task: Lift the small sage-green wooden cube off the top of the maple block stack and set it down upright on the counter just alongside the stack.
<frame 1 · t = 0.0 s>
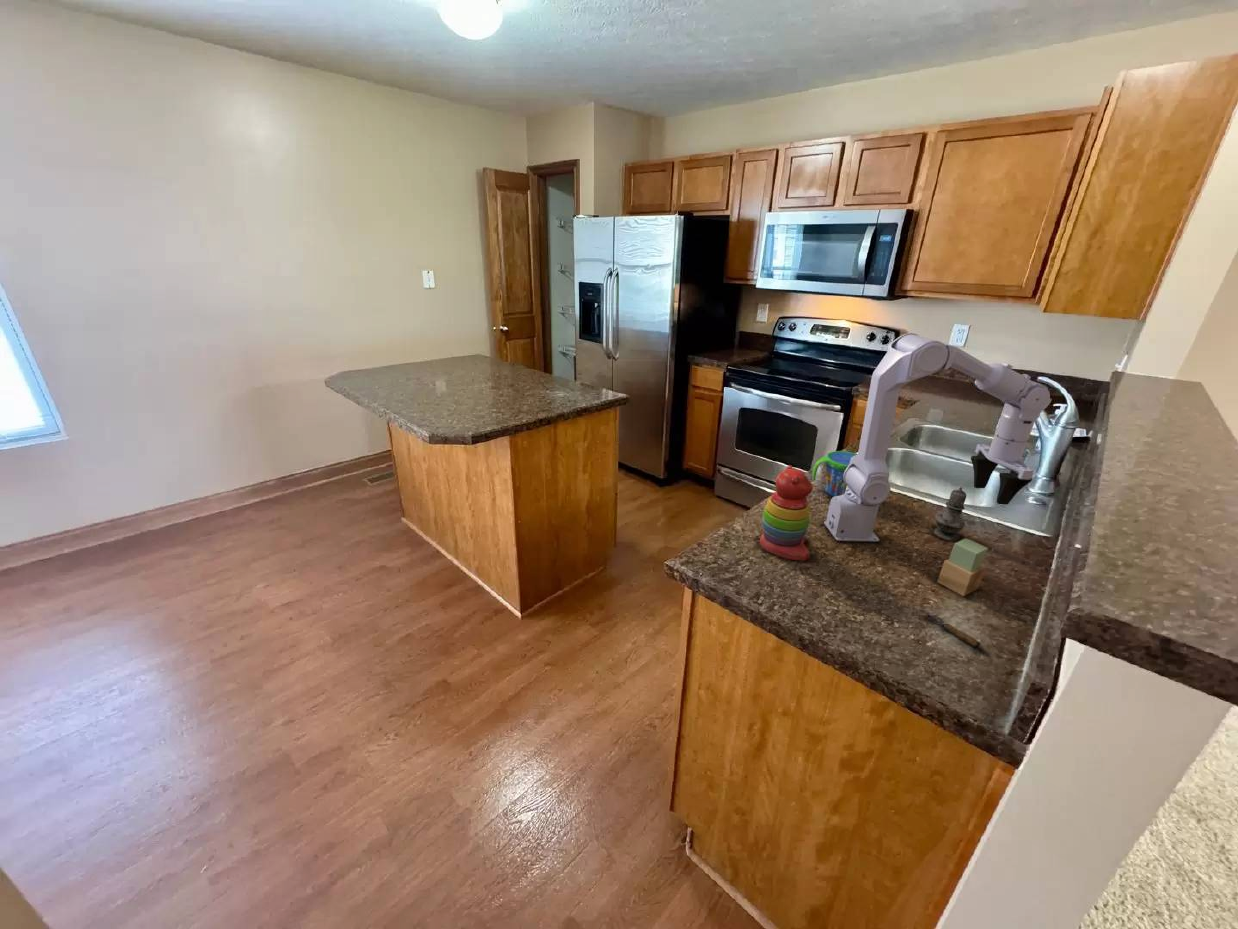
hand: (990, 495, 112), 10 cm above the counter, tool pointing down, fingers open, 7 cm apart
base block: (957, 585, 99), on the counter, touching top cube
top cube: (964, 563, 97), point 5 cm above the counter, touching base block
snack cup: (840, 494, 134), on the counter
stacking bear: (782, 546, 110), on the counter
grey fire hydrant: (945, 535, 116), on the counter
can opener: (951, 632, 87), on the counter
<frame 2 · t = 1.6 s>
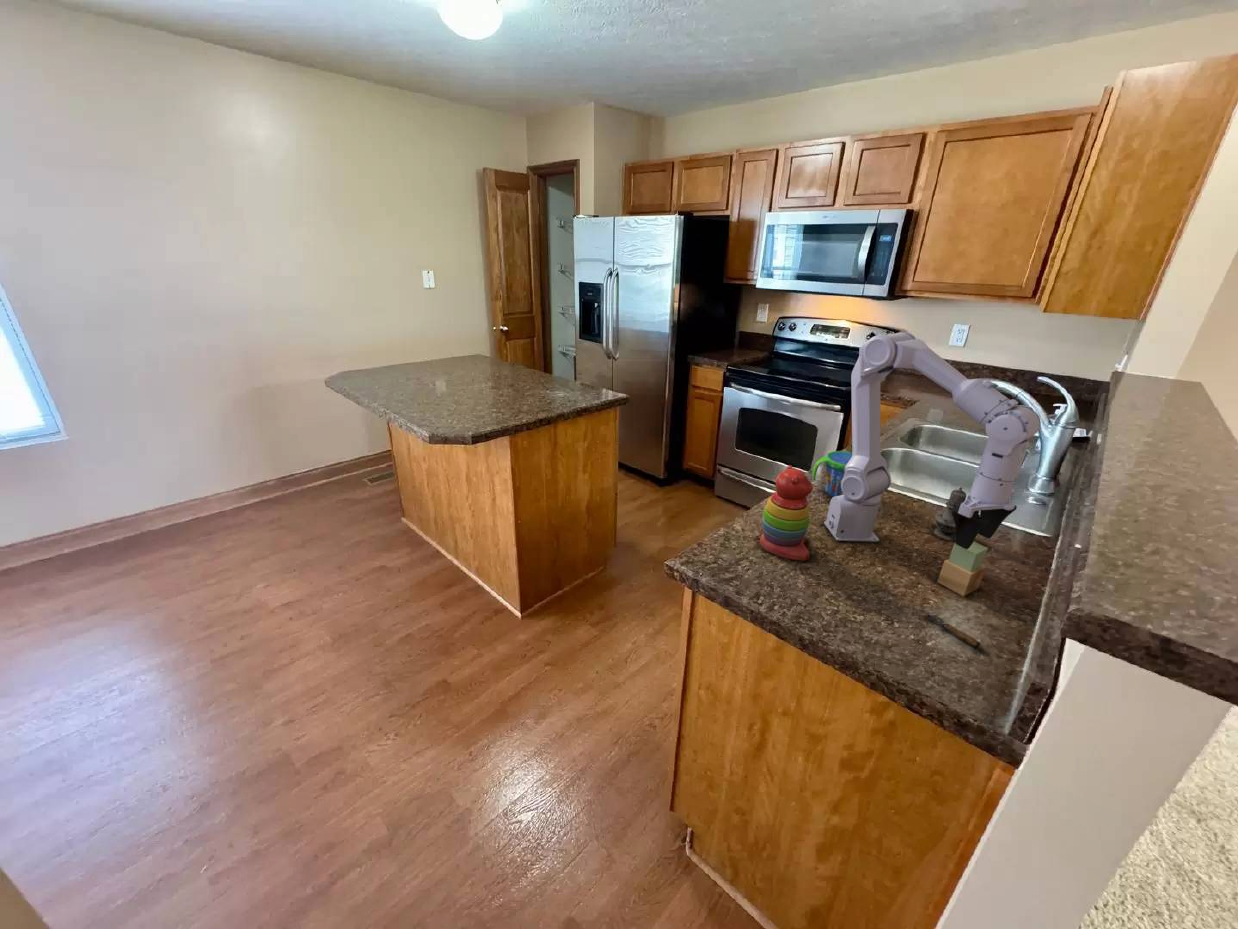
hand: (973, 540, 95), 10 cm above the counter, tool pointing down, fingers open, 7 cm apart
nothing on the counter moved.
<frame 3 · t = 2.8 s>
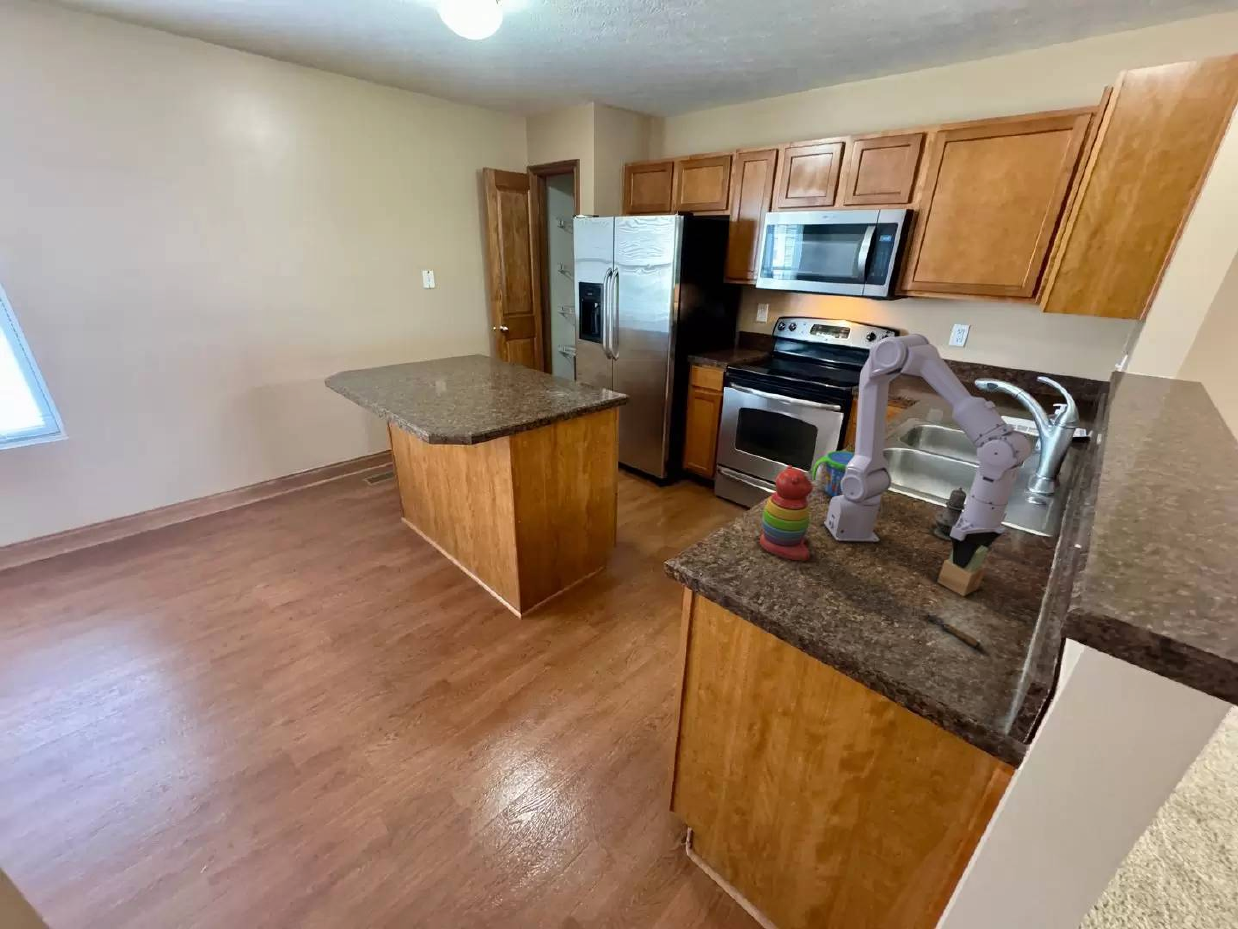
hand: (965, 561, 97), 5 cm above the counter, tool pointing down, fingers closed on top cube, 4 cm apart
top cube: (965, 563, 97), point 5 cm above the counter, touching base block, gripper
everything else where it was.
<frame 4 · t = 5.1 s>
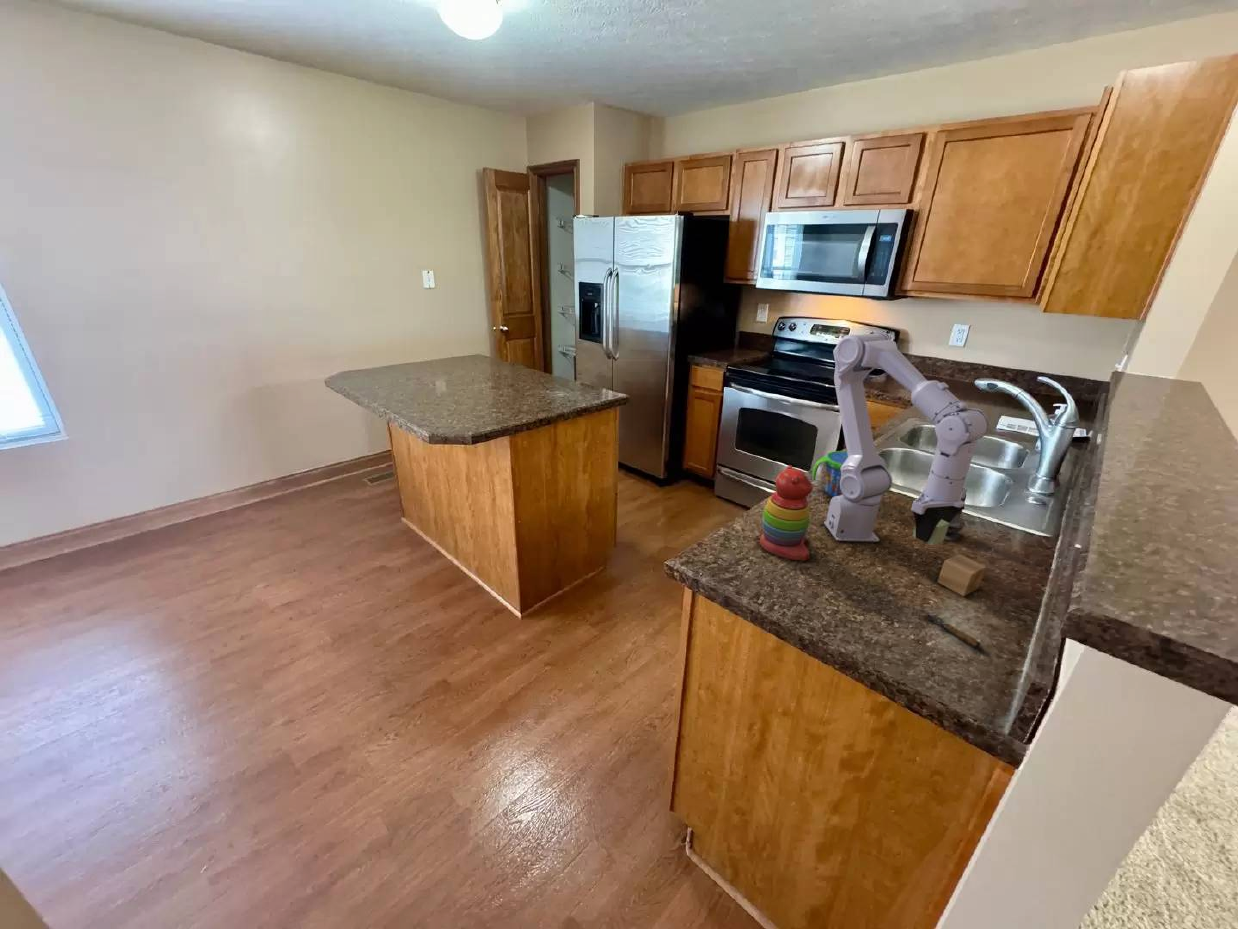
hand: (928, 536, 100), 8 cm above the counter, tool pointing down, fingers closed on top cube, 4 cm apart
base block: (957, 585, 99), on the counter
top cube: (927, 538, 100), point 7 cm above the counter, touching gripper
everything else where it was.
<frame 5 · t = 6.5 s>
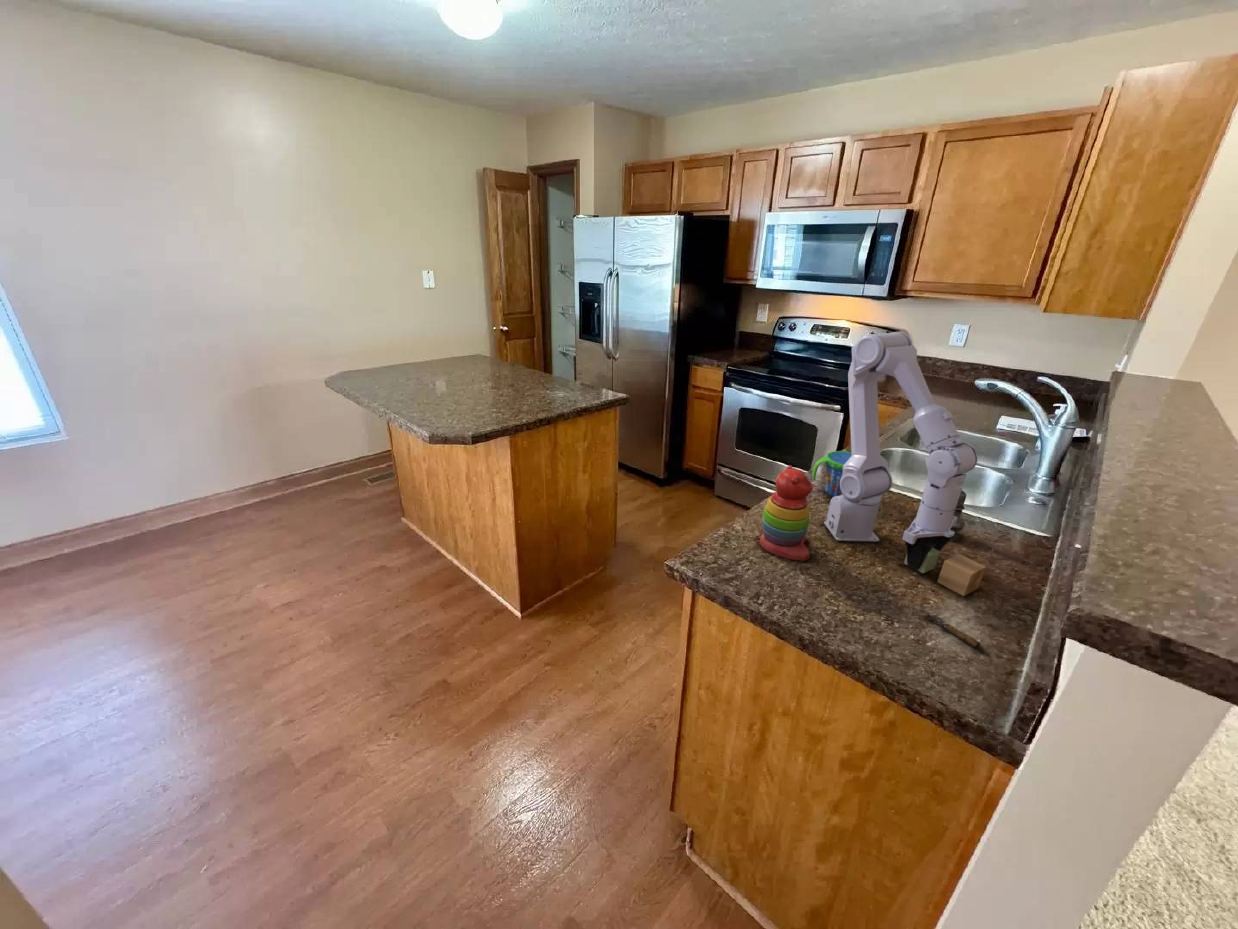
hand: (919, 564, 103), 1 cm above the counter, tool pointing down, fingers closed on top cube, 4 cm apart
top cube: (919, 565, 103), point 1 cm above the counter, touching gripper
everything else where it was.
when the fingers open (0 cm above the counter, at t = 7.2 s): top cube stays where it is, on the counter.
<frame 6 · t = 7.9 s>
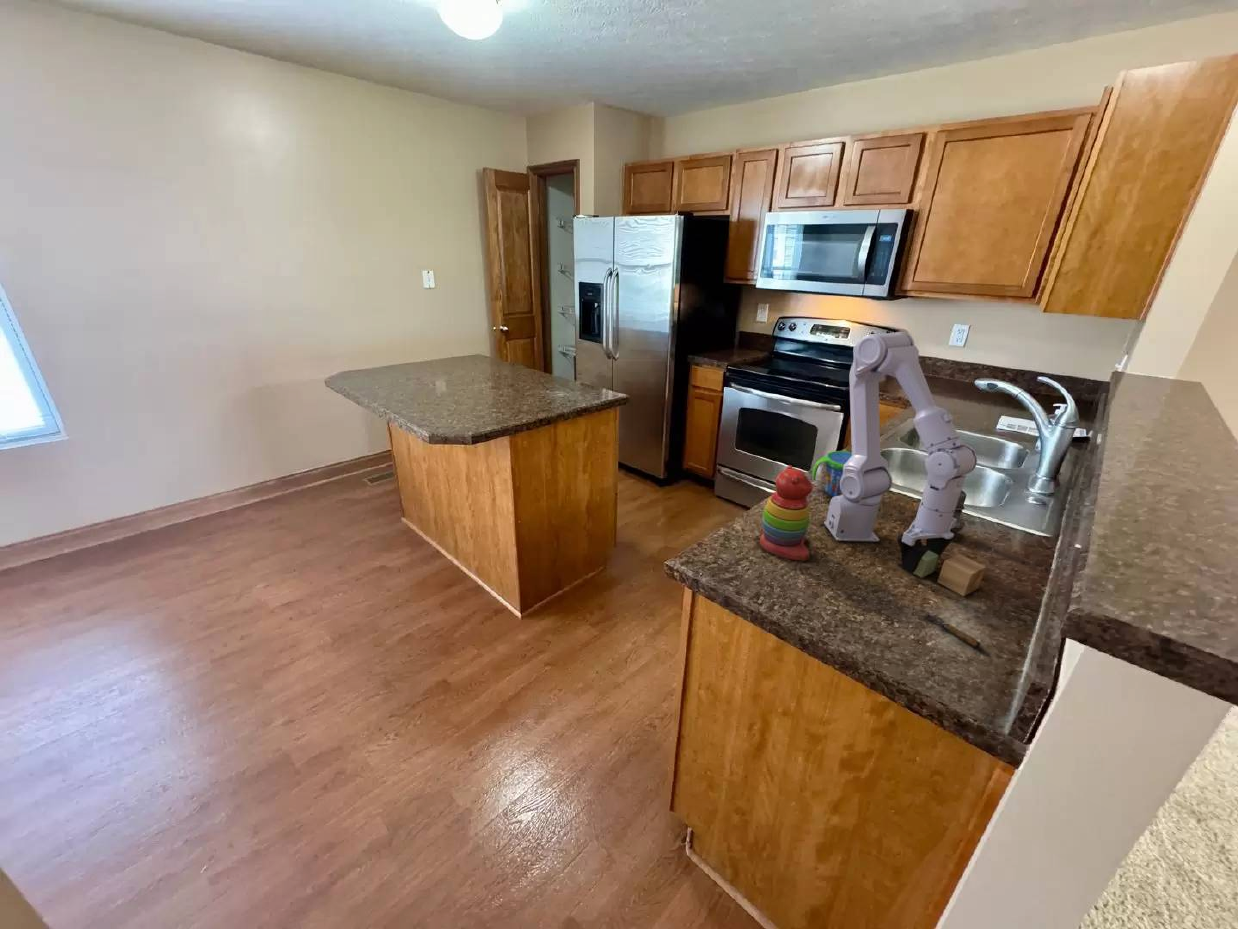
hand: (918, 565, 103), 1 cm above the counter, tool pointing down, fingers open, 7 cm apart
top cube: (918, 569, 103), on the counter
everything else where it was.
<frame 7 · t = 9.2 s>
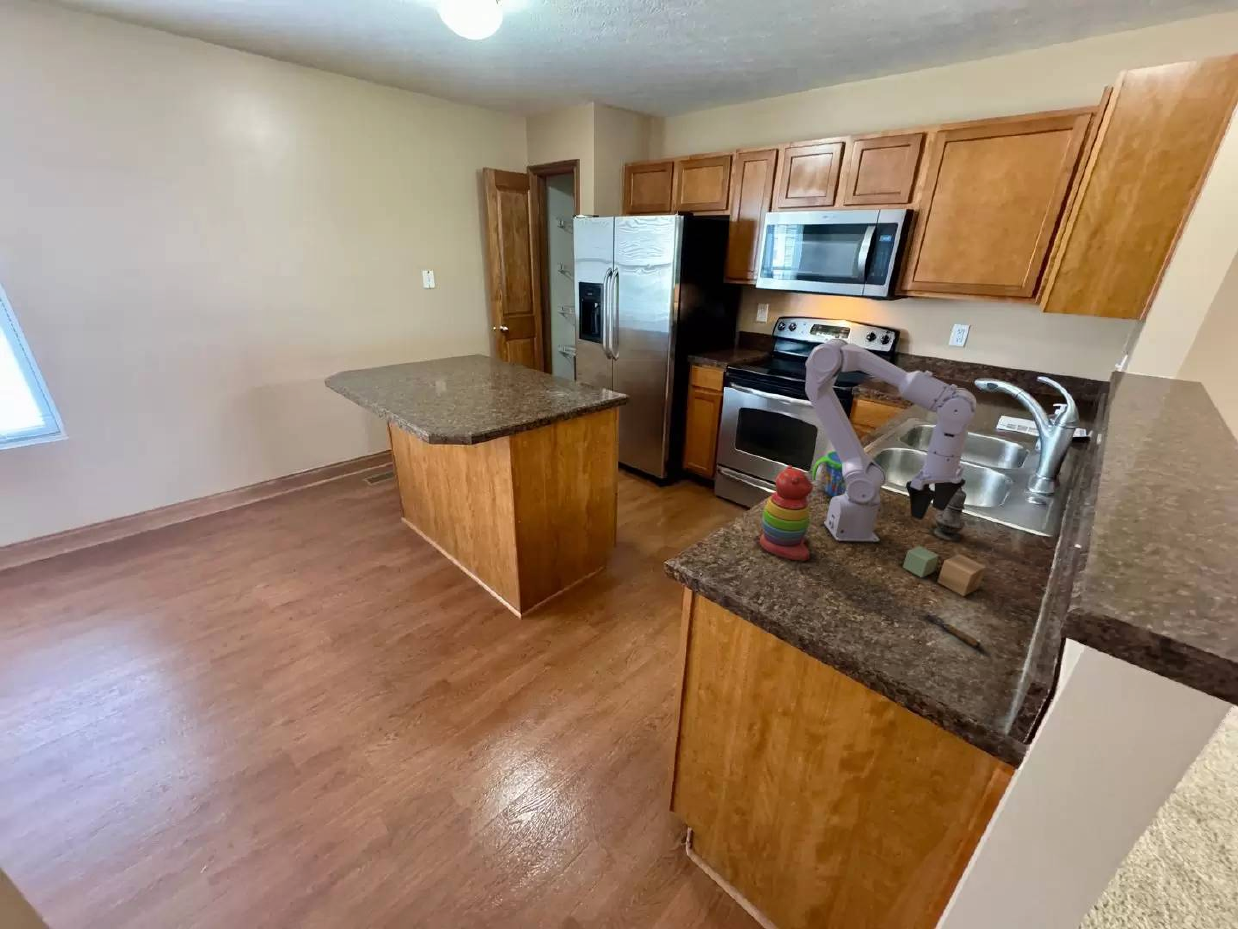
hand: (927, 512, 106), 9 cm above the counter, tool pointing down, fingers open, 7 cm apart
nothing on the counter moved.
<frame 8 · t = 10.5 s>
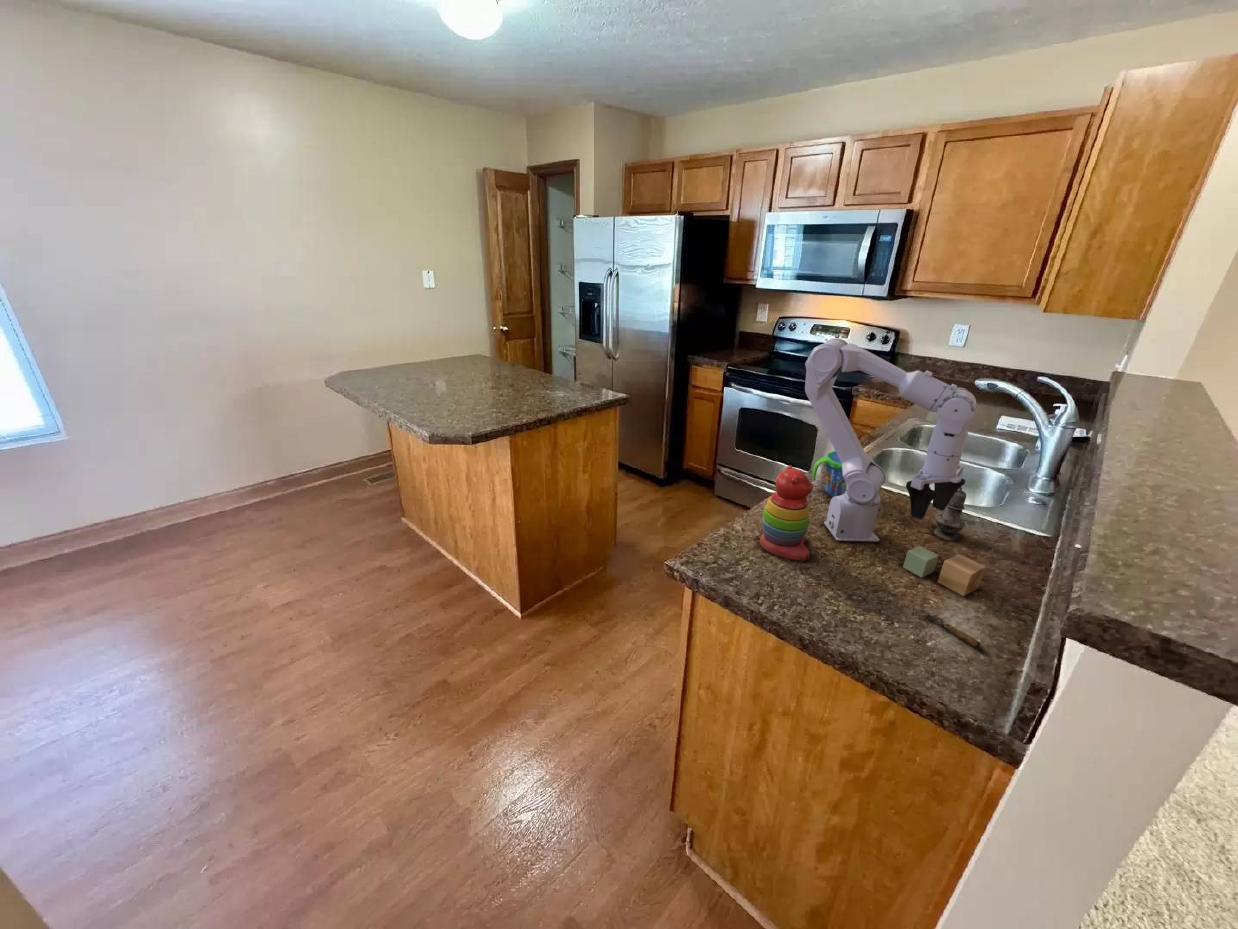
hand: (927, 512, 106), 9 cm above the counter, tool pointing down, fingers open, 7 cm apart
nothing on the counter moved.
at the end: top cube 0.0 cm from the target spot, on the counter; top cube tilted 0°; base block moved 0.0 cm from its start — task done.
